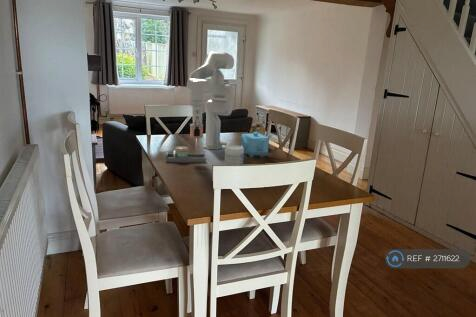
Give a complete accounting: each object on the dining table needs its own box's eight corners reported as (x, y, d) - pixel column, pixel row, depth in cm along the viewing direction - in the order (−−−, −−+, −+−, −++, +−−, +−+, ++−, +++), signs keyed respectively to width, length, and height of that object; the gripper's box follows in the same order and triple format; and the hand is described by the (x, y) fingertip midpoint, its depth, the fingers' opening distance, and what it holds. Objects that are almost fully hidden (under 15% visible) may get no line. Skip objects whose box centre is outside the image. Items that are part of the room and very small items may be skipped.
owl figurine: (243, 143, 254) (244, 120, 249) (257, 143, 258) (259, 119, 254) (254, 149, 238) (255, 124, 233) (269, 148, 243) (271, 124, 238)
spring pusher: (175, 157, 205) (175, 150, 204) (174, 161, 199) (175, 153, 198) (173, 157, 205) (173, 150, 204) (173, 161, 199) (173, 153, 197)
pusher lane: (204, 158, 209) (204, 151, 208) (205, 163, 200) (205, 155, 199) (166, 158, 206) (166, 150, 205) (166, 162, 197) (165, 155, 196)
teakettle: (245, 150, 235) (246, 128, 231) (272, 154, 228) (274, 131, 224) (235, 156, 218) (236, 133, 214) (264, 161, 211) (265, 137, 207)
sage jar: (187, 158, 207) (188, 146, 205) (188, 161, 200) (188, 149, 198) (175, 158, 205) (175, 146, 204) (175, 161, 199) (175, 149, 197)
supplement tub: (244, 177, 180) (246, 149, 176) (226, 177, 178) (227, 149, 174) (240, 171, 189) (241, 144, 185) (222, 172, 187) (223, 144, 183)
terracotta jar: (202, 135, 204) (202, 123, 202) (203, 138, 198) (203, 126, 196) (189, 135, 203) (190, 123, 201) (190, 138, 196) (190, 125, 194)
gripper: (205, 105, 188) (204, 138, 192) (203, 101, 204) (202, 131, 209) (190, 105, 186) (190, 138, 191) (190, 101, 203) (189, 131, 208)
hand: (196, 134), depth 200 cm, fingers closed on terracotta jar, 7 cm apart
